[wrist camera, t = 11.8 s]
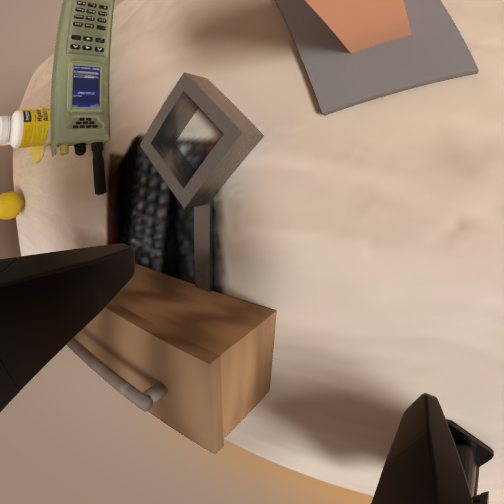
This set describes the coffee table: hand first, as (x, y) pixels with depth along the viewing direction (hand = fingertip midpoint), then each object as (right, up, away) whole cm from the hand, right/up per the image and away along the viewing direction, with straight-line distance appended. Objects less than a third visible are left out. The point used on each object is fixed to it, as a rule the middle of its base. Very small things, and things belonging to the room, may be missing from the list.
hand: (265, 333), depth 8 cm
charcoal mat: (+7, +16, +6) cm, 18 cm away
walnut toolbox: (-7, -4, +21) cm, 22 cm away
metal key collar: (-4, +7, +15) cm, 17 cm away
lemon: (-47, +12, +42) cm, 64 cm away
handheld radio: (-17, +21, +20) cm, 33 cm away
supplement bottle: (-29, +20, +28) cm, 45 cm away
